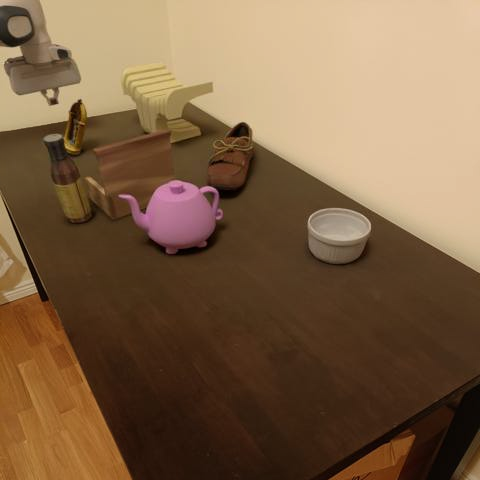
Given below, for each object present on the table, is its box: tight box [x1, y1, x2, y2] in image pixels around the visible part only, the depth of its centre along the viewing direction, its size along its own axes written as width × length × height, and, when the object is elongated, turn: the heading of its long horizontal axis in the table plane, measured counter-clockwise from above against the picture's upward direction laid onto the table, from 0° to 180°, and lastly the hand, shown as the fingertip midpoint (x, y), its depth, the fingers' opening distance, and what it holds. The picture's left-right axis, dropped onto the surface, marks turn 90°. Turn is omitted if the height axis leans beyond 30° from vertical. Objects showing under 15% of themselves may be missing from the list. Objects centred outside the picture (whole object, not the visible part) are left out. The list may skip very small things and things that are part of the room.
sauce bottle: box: [43, 133, 93, 224], centre depth 98 cm, size 6×6×20 cm
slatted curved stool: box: [120, 61, 214, 144], centre depth 138 cm, size 30×16×18 cm, turn 37°
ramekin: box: [306, 207, 372, 265], centre depth 92 cm, size 13×13×7 cm
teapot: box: [118, 179, 224, 255], centre depth 93 cm, size 22×16×14 cm
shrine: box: [63, 98, 88, 156], centre depth 129 cm, size 12×8×15 cm
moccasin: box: [205, 121, 255, 191], centre depth 117 cm, size 31×12×12 cm, turn 158°
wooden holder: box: [84, 129, 176, 221], centre depth 106 cm, size 14×19×17 cm
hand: (53, 104), depth 133 cm, fingers closed
